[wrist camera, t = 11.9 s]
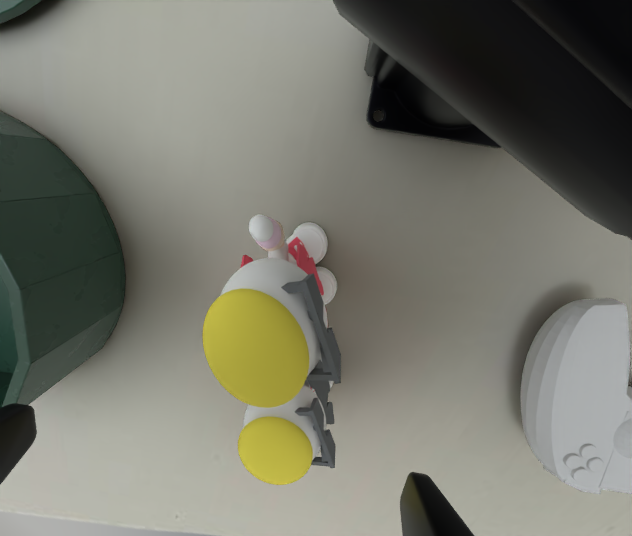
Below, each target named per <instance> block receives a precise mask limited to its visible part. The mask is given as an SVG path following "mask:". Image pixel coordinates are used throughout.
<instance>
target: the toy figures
mask: <svg viewBox="0 0 632 536" xmlns="http://www.w3.org/2000/svg"><path fill="white" fill-rule="evenodd" d="M249 231H250V234H251V236H252V237H253V238H254V239H255V241H256V242H257V243H258V244H259V246H260V247H261V248H262V249H264V250H265V251H268V258H263V259H258V260H255V261H253V259H252V258H251V257H248V256H247V255H243V258H242V264H241V268H240V269H239V270H237V271H236V272H235V273H234V274H233V275H232V276H231V278H230V279H229V280H228V282H227V283H226V285H225V286H224V288H223V290H222V293H221V295H220V297H218V298H217V299H216V300H215V301H214V303H213V304H212V305H211V306H210V308H209V310H208V312H207V314H206V317H205V321H204V325H203V347H204V351H205V356H206V359H207V361H208V364H209V366H210V368H211V370H212V372H213V374H214V376H215V377H216V378H217V380H218V381H219V382H220V384H221V385H222V386H223V387H224V388H225V389H226V390H227V391H228V392H229V393H230V394H232V395H233V396H234V397H235V398H237V399H239V400H241V401H242V402H244V403H247V404H249V405H248V407H247V409H246V412H245V416H244V421H243V430H242V431H241V433H240V436H239V440H238V451H239V456H240V458H241V461H242V463H243V464H244V466H245V467H246V469H247V470H248V471H249V472H250V473H251V474H252V475H253V476H255V477H256V478H258V479H259V480H261V481H264V482H266V483H269V484H275V485H284V484H289V483H293V482H295V481H297V480H299V479H300V478H301V477H303V476H304V475H305V474H306V472H307V471H308V469H309V468H310V466H311V465H319V466H330V468H335V443H334V440H333V438H332V435H331V432H330V430H326V424H334V415H333V405H332V402H328V403H327V400H328V393H329V391H330V389H331V387H332V385H333V382H334V383H335V384H337V383H341V354H340V351H339V348H338V345H337V342H336V339H335V336H334V333H333V330H332V328H328V319H327V310H326V307H325V305H326V304H328V303H329V302H330V301H331V300H332V299H333V297H334V296H335V294H336V291H337V282H336V278H335V276H334V275H333V274H332V272H331V271H329V270H328V269H327V268H324V267H316V266H315V264H316V263H318V262H319V261H320V260H322V259H323V257H324V256H325V254H326V252H327V247H328V242H327V237H326V234H325V232H324V231H323V229H322V228H321V227H320V226H319V225H317V224H315V223H311V222H306V223H303V224H300V225H299V226H298V227H297V228H296V229H295V231H294V232H293V235H291V236H290V237H289V238H288V239H287V240H286V241H285V240H284V230H283V227H282V225H281V224H280V223H279V222H278V221H276V220H274V219H272V218H269V217H267V216H265V215H261V214H259V215H256V216H254V217H253V218H252V219H251V220H250V222H249ZM321 361H322V362H321ZM316 395H317V396H316ZM320 449H321V455H322V457H316V456H317V454H318V453H319V451H320Z"/></svg>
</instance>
